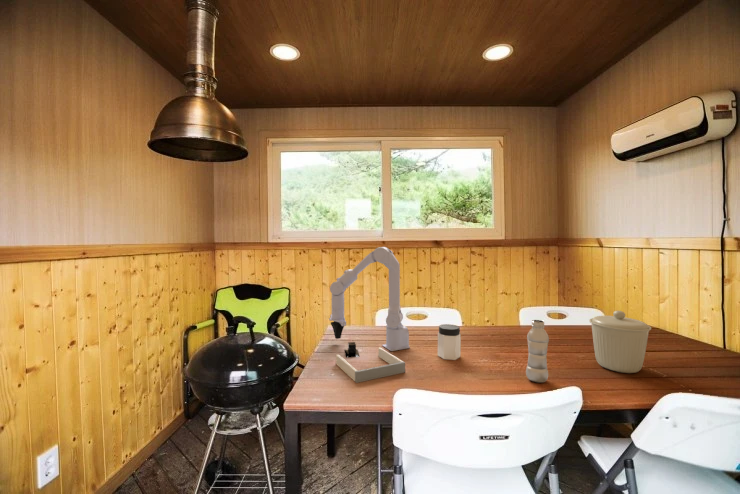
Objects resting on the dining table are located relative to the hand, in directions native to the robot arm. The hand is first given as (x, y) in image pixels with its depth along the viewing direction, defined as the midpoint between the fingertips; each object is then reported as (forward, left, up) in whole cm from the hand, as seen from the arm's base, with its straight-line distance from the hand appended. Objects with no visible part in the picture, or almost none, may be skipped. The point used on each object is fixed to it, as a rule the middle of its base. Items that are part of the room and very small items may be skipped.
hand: (337, 338), depth 148 cm
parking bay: (0, +31, -2) cm, 31 cm away
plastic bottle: (-45, +66, -3) cm, 80 cm away
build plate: (-1, +14, -3) cm, 15 cm away
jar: (-34, +35, -3) cm, 49 cm away
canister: (-82, +72, -3) cm, 109 cm away
